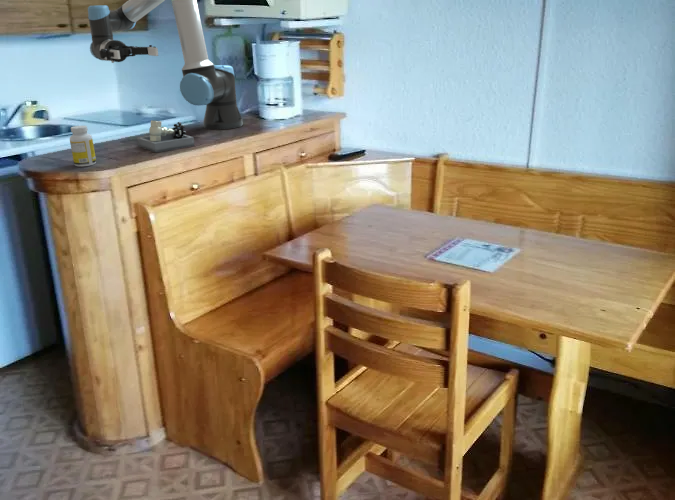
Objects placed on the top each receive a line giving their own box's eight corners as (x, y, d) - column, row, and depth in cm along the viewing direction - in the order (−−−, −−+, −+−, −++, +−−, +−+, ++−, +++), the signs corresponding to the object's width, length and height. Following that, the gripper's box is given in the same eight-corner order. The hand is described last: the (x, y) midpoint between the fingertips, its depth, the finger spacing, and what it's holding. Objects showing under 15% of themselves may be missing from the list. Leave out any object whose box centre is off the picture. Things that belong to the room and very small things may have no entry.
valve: (155, 141, 216) (185, 142, 225) (156, 121, 214) (186, 123, 223) (144, 139, 220) (173, 140, 229) (144, 119, 218) (174, 121, 227)
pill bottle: (94, 161, 206) (87, 124, 202) (98, 165, 201) (92, 127, 197) (72, 164, 203) (65, 126, 199) (76, 168, 198) (69, 129, 194)
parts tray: (175, 140, 233) (174, 131, 232) (194, 145, 223) (193, 137, 222) (138, 146, 225) (137, 137, 224) (156, 152, 215) (154, 143, 214)
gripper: (147, 58, 247) (173, 61, 232) (81, 64, 233) (103, 67, 217) (145, 38, 244) (170, 39, 229) (78, 42, 230) (100, 44, 214)
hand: (138, 53), depth 223 cm, fingers open, 13 cm apart
